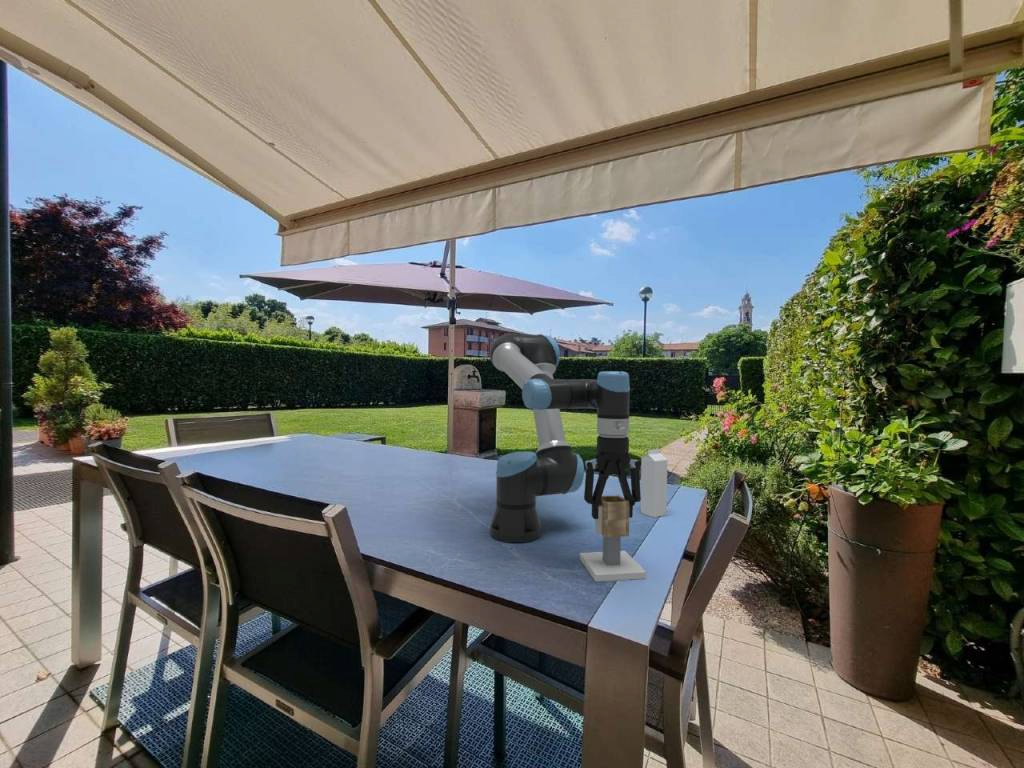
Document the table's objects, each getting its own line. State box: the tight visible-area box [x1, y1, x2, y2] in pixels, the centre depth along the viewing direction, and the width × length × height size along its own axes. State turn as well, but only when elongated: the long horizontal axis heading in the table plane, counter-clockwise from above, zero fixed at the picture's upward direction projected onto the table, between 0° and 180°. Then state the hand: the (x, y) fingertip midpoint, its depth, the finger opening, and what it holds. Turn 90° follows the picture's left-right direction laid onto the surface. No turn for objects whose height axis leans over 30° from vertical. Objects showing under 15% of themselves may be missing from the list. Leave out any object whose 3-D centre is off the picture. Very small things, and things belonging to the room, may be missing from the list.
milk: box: [640, 448, 668, 519], centre depth 142 cm, size 6×6×22 cm
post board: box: [579, 535, 647, 583], centre depth 101 cm, size 12×12×10 cm
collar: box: [600, 494, 630, 538], centre depth 101 cm, size 6×6×8 cm
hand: (612, 531), depth 101 cm, fingers closed on collar, 6 cm apart
